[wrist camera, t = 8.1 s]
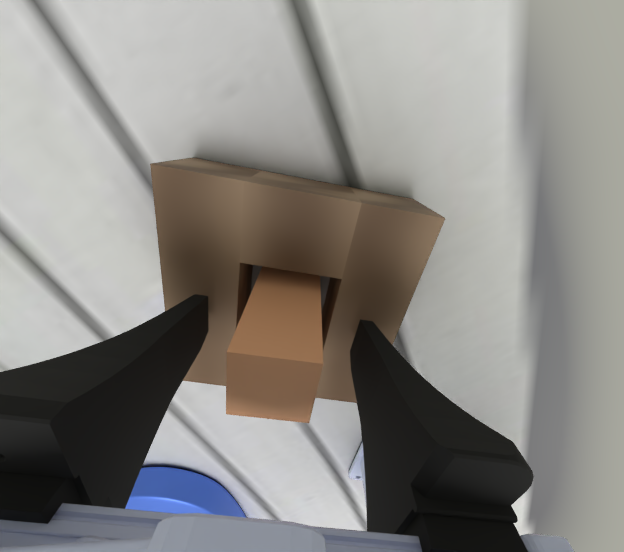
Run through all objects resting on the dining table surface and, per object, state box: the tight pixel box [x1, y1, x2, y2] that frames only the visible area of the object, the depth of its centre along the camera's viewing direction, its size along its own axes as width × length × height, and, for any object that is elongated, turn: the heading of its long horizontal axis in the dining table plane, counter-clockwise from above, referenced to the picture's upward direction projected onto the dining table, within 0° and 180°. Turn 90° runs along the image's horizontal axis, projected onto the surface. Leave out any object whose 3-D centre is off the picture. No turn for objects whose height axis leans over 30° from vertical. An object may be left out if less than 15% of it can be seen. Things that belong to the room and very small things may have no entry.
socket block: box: [150, 158, 445, 403], centre depth 15 cm, size 12×12×4 cm
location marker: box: [125, 467, 246, 518], centre depth 32 cm, size 13×3×25 cm
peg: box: [226, 266, 323, 423], centre depth 13 cm, size 3×3×8 cm
